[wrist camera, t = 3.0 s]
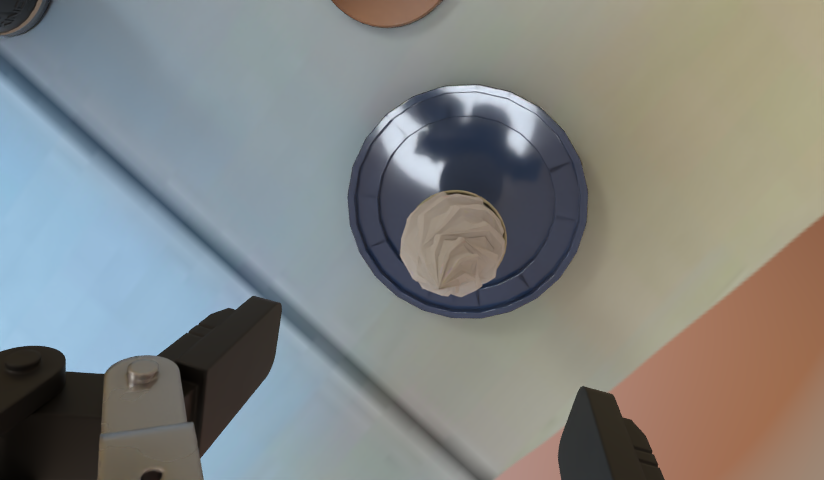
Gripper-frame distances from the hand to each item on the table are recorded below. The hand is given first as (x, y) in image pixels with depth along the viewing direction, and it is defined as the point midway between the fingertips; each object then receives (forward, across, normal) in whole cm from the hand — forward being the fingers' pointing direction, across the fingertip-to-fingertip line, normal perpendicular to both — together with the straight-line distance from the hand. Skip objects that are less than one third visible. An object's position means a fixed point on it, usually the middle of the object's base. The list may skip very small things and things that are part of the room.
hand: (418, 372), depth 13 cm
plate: (+21, 0, 0) cm, 21 cm away
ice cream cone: (+21, 0, 0) cm, 21 cm away
